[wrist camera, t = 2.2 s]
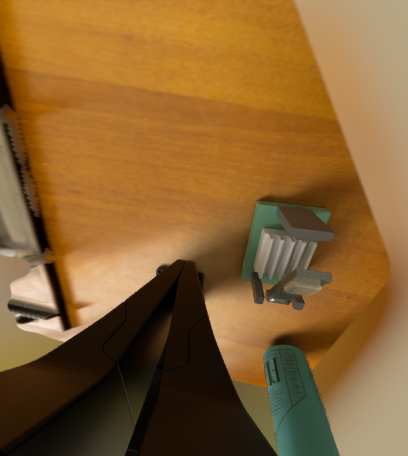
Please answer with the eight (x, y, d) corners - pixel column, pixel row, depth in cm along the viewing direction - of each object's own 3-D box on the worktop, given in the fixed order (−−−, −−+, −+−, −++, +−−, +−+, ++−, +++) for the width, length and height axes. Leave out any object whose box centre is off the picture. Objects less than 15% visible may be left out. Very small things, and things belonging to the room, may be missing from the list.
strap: (286, 294, 20) (287, 306, 20) (264, 291, 20) (264, 303, 20) (329, 268, 13) (333, 286, 13) (295, 264, 13) (297, 281, 13)
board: (295, 280, 23) (314, 322, 18) (240, 273, 24) (243, 311, 19) (325, 208, 19) (362, 236, 14) (256, 200, 19) (266, 224, 14)
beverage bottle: (268, 330, 28) (331, 653, 11) (310, 339, 28) (447, 685, 10) (255, 352, 31) (289, 633, 14) (294, 361, 31) (377, 657, 14)
